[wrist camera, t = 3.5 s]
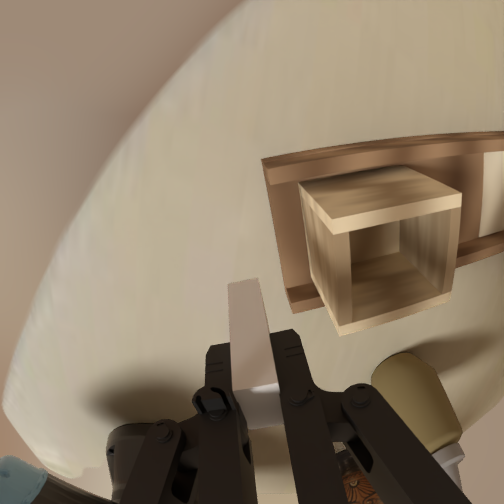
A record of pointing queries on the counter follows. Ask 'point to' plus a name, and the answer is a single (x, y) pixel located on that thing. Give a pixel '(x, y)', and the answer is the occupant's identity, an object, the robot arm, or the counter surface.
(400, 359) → the squeeze bottle
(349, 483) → the vase
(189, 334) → the counter surface
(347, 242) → the crate
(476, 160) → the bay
